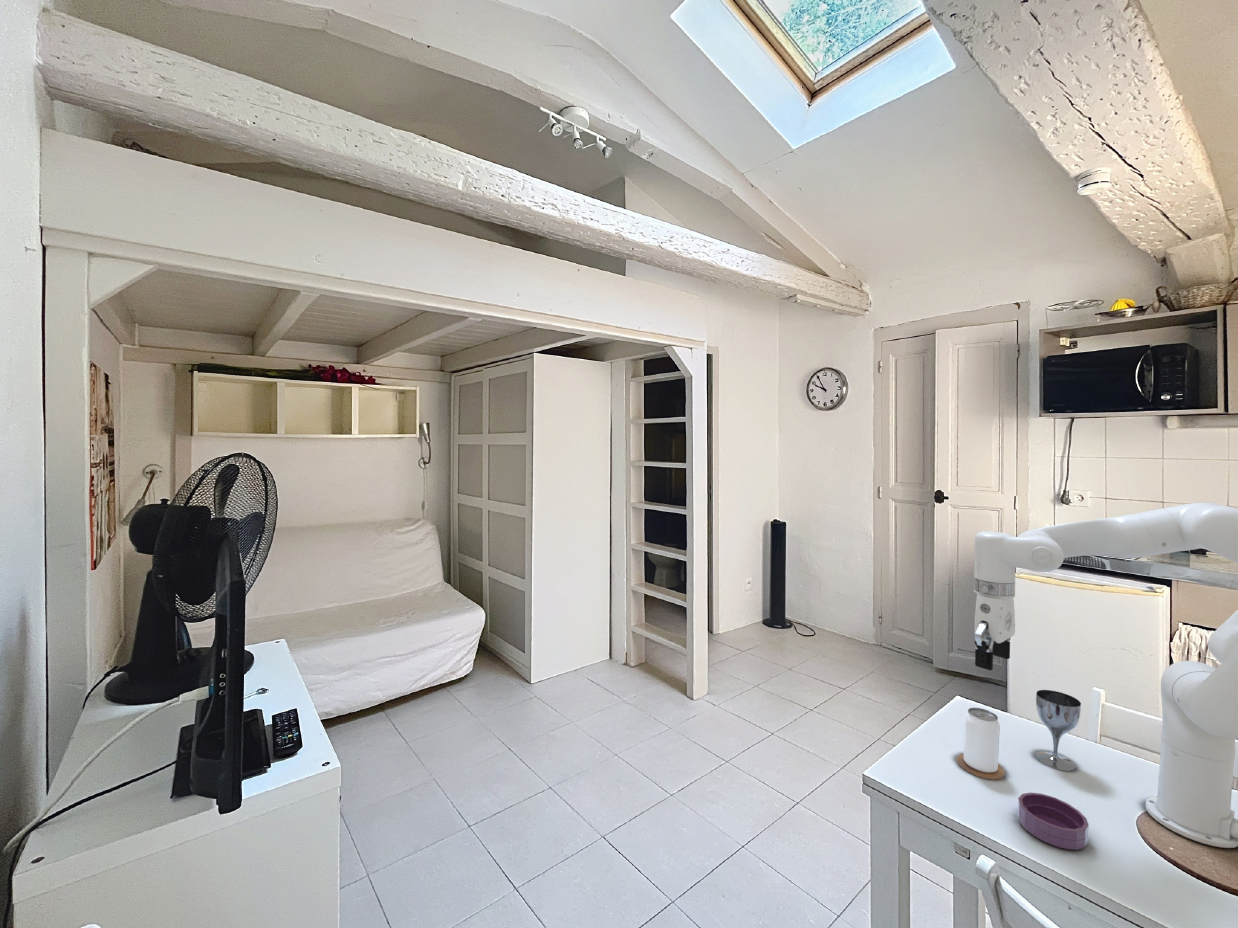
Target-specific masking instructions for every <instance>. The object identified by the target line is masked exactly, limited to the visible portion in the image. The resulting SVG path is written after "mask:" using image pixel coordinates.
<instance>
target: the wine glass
mask: <svg viewBox="0 0 1238 928" xmlns="http://www.w3.org/2000/svg"><path fill="white" fill-rule="evenodd" d="M1035 704H1036V705H1035V706H1036V711H1037V716H1038V718H1039V720H1040V722H1042V724H1043V725H1044V726H1045V727H1046V728H1047V730H1048V731H1049V732H1050V734H1051V737H1052V744H1053V745H1052V746H1053V748H1052V749H1053V750H1052V751H1053V752H1051V751H1042V750H1040V751H1038V752H1035V755H1034V756H1035V758H1036V759H1037V760H1038V761H1039V762H1041V763H1042V764H1044V765H1046V766H1048V767H1051V768H1052V769H1056V770H1060V771H1066V772H1068V771H1069V772H1070V771H1074V770H1075V769H1076V765H1075V764H1074V762H1073V761H1071V760H1070V759H1068V758H1067V757H1065V756H1062V755H1060V754H1059V753H1058V752H1059V751H1058V750H1059V746H1060V745H1059V744H1060V740H1061V738H1062V737H1063V736H1064V735H1066V734H1068V733H1070V732H1072V731H1073V730H1075V728H1076V727H1078V723H1079V722H1080V718H1081V711H1082V702H1081V701H1080V700H1078V699H1077V698H1075V697H1074V696H1072V695H1069V694H1067V693H1064V692H1061V691H1056V690H1051V689H1040V690H1037V691H1036V695H1035Z"/></svg>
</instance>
